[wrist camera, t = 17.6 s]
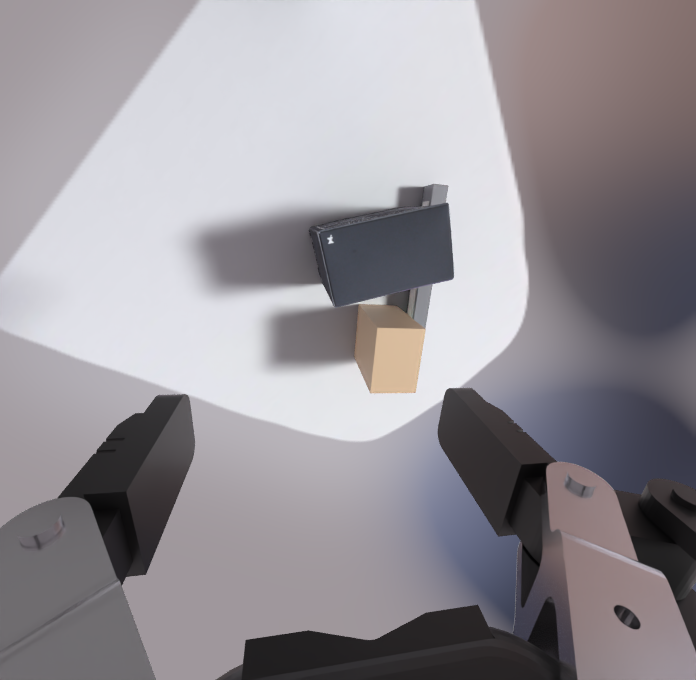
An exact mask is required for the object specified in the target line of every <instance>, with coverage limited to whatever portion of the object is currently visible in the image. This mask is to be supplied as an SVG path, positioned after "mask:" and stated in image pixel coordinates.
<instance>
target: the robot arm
mask: <svg viewBox="0 0 696 680" xmlns="http://www.w3.org/2000/svg"><path fill="white" fill-rule="evenodd" d="M438 438H439V442H440V445H441V447H442V449H443V450H444V452H445V454H446V455H447V457H448V458H449V460H450V461H451V463H452V464H453V466H454V468H455V469H456V471H457V472H458V474H459V476H460V477H461V479H462V480H463V482H464V483H465V485H466V486H467V488H468V490H469V491H470V493H471V494H472V496H473V497H474V499H475V501H476V502H477V504H478V505H479V507H480V508H481V510H482V511H483V513H484V515H485V516H486V518H487V519H488V521H489V523H490V524H491V525H492V527H493V529H494V530H495V532H496V534H497V535H498V536H507V535H517V536H518V537H519V539H520V540H521V541H520V543H519V546H518V551H517V575H516V577H517V578H516V602H515V621H514V628H513V633H512V634H511V633H509V632H506V631H503V630H499V629H496V628H493V627H488V625H487V623H486V621H485V619H484V617H483V615H482V612H481V610H480V608H479V606H478V605H474V606H468V607H461V608H454V609H448V610H441V611H435V612H428V613H425V614H423V615H421V616H419V617H417V618H416V619H414V620H412V621H410V622H408V623H406V624H404V625H402V626H400V627H399V628H397V629H395V630H393V631H391V632H389V633H387V634H385V635H384V636H382V637H380V638H378V639H375V640H363V639H356V638H351V637H344V636H339V635H332V634H326V633H320V632H313V631H302V632H296V633H289V634H282V635H276V636H269V637H263V638H256V639H250V640H246V643H245V652H244V660H243V664H242V665H240V666H238V667H236V668H234V669H232V670H230V671H229V672H227V673H226V674H224V675H222V676H221V677H219V678H218V679H217V680H696V592H695V591H694V590H693V589H692V587H693V586H694V584H695V583H696V490H695V489H693V488H691V487H689V486H686V485H683V484H681V483H678V482H675V481H671V480H666V479H652V480H650V481H648V483H647V485H646V487H645V489H644V491H643V493H642V495H640V494H634V493H629V492H623V491H618V490H613V488H612V487H611V486H610V485H609V484H608V483H607V482H606V481H605V480H603V479H602V478H601V477H600V476H598V475H597V474H595V473H593V472H591V471H590V470H588V469H585V468H583V467H581V466H578V465H575V464H572V463H567V462H557V461H556V460H555V459H553V458H552V457H551V456H550V455H549V454H548V453H547V452H546V451H545V450H543V448H542V447H541V446H540V445H538V444H537V443H536V442H535V441H534V440H533V439H532V438H531V437H530V436H529V435H528V434H527V433H526V432H523V429H521V428H520V427H519V426H518V425H517V424H516V423H514V421H513V420H512V419H511V418H510V417H509V416H508V415H507V414H506V413H504V412H503V411H502V410H500V409H499V408H497V407H495V406H493V405H491V404H490V403H488V402H486V401H485V400H484V399H483V398H482V397H481V396H480V395H479V394H478V393H477V392H476V391H475V390H473V389H472V388H449V389H447V390H446V392H445V395H444V400H443V405H442V410H441V416H440V421H439V425H438ZM194 448H195V438H194V430H193V422H192V414H191V407H190V400H189V397H188V395H186V394H182V395H158V396H156V397H155V399H154V400H153V401H152V403H151V404H150V405H149V407H148V408H147V409H146V411H145V412H144V413H135V414H134V415H132V416H131V417H129V418H128V419H126V420H125V421H123V422H122V423H120V424H119V425H117V426H116V428H115V429H114V430H113V431H112V433H111V434H110V435H109V436H108V437H107V439H106V442H103V443H102V445H101V446H100V447H99V448H98V449H97V452H96V454H93V456H92V457H91V458H90V459H89V460H88V462H87V463H86V464H85V465H84V466H83V468H82V469H81V470H80V471H79V472H78V474H77V475H76V476H75V477H74V479H73V480H72V481H71V482H70V483H69V485H68V486H67V487H66V488H65V490H64V491H63V492H62V493H61V495H60V496H59V497H58V498H57V499H53V500H50V501H46V502H44V503H41V504H38V505H36V506H34V507H32V508H29V509H28V510H26V511H24V512H22V513H20V514H19V515H17V516H16V517H14V518H13V519H11V520H10V521H8V522H7V523H6V524H5V525H3V526H2V527H1V528H0V680H156V678H155V675H154V673H153V670H152V667H151V665H150V662H149V659H148V656H147V654H146V651H145V648H144V646H143V643H142V640H141V638H140V635H139V632H138V629H137V626H136V624H135V621H134V618H133V615H132V613H131V610H130V607H129V604H128V602H127V599H126V596H125V594H124V591H123V588H122V584H123V582H124V580H125V578H126V577H129V576H138V575H146V573H147V570H148V568H149V566H150V563H151V561H152V558H153V556H154V553H155V551H156V548H157V546H158V544H159V541H160V539H161V536H162V534H163V531H164V529H165V526H166V524H167V521H168V519H169V516H170V514H171V511H172V509H173V507H174V504H175V502H176V499H177V497H178V494H179V492H180V489H181V487H182V484H183V482H184V479H185V477H186V474H187V472H188V470H189V467H190V464H191V462H192V459H193V455H194Z"/></svg>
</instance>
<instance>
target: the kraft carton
mask: <svg viewBox="0 0 696 680" xmlns="http://www.w3.org/2000/svg"><path fill="white" fill-rule="evenodd" d="M425 330H426V329H425V328H424V327H422V326H421V325H420V324H419V323H418V322H416V321H415V320H414V319H413V318H411V317H410V316H409V315H408V314H406V313H405V312H404V311H403V310H401V309H400V308H399V307H398V306H394V305H368V304H359V307H358V319H357V330H356V342H355V353H354V357H355V360H356V362H357V364H358V366H359V369H360V371H361V373H362V376H363V378H364V380H365V382H366V385H367V387H368V389H369V391H370V393H415V392H416V386H417V380H418V374H419V367H420V361H421V355H422V349H423V342H424V336H425Z"/></svg>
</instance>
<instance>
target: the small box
mask: <svg viewBox="0 0 696 680" xmlns="http://www.w3.org/2000/svg"><path fill="white" fill-rule="evenodd" d="M309 232H310V236H311V238H312V244H313V248H314V250H315V254H316V261H317V263H318V270H319V274H320V277H321V280H322V283H323V285H324V287H325V289H326V291H327V293H328V295H329V297H330V299H331V301H332V303H333V306H334V307H335V308H336V307H341V306H344V305H349V304H353V303H357V302H361V301H365V300H369V299H373V298H377V297H381V296H385V295H389V294H394V293H398V292H402V291H406V290H410V289H414V288H418V287H423V286H427V285H431V284H435V283H440V282H444V281H448V280H452V279H453V278H454V266H453V253H452V240H451V226H450V214H449V204H448V203H443V204H438V205H431V206H421V207H401V208H397V209H391V210H387V211H382V212H377V213H372V214H368V215H364V216H359V217H354V218H348V219H343V220H340V221H334V222H331V223H327V224H322V225H318V226H313V227H311V228H310V229H309Z"/></svg>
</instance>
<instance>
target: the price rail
mask: <svg viewBox="0 0 696 680" xmlns="http://www.w3.org/2000/svg"><path fill="white" fill-rule="evenodd" d="M447 191H448V185H439V184H432V185H429V186H425V187H424V192H423V200H422V206H431V205H438V204H443V203H446V197H447ZM431 290H432V284H431V285H427V286H423V287H418V288H414V289H410V293H409V300H408V307H407V314H408V315H409V316H410V317H411V318H413V319H414V320H415V321H416V322H418V323H419V324H420V325H421V326H422V327H424V328H425V327H426V321H427V315H428V308H429V302H430V296H431Z"/></svg>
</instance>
